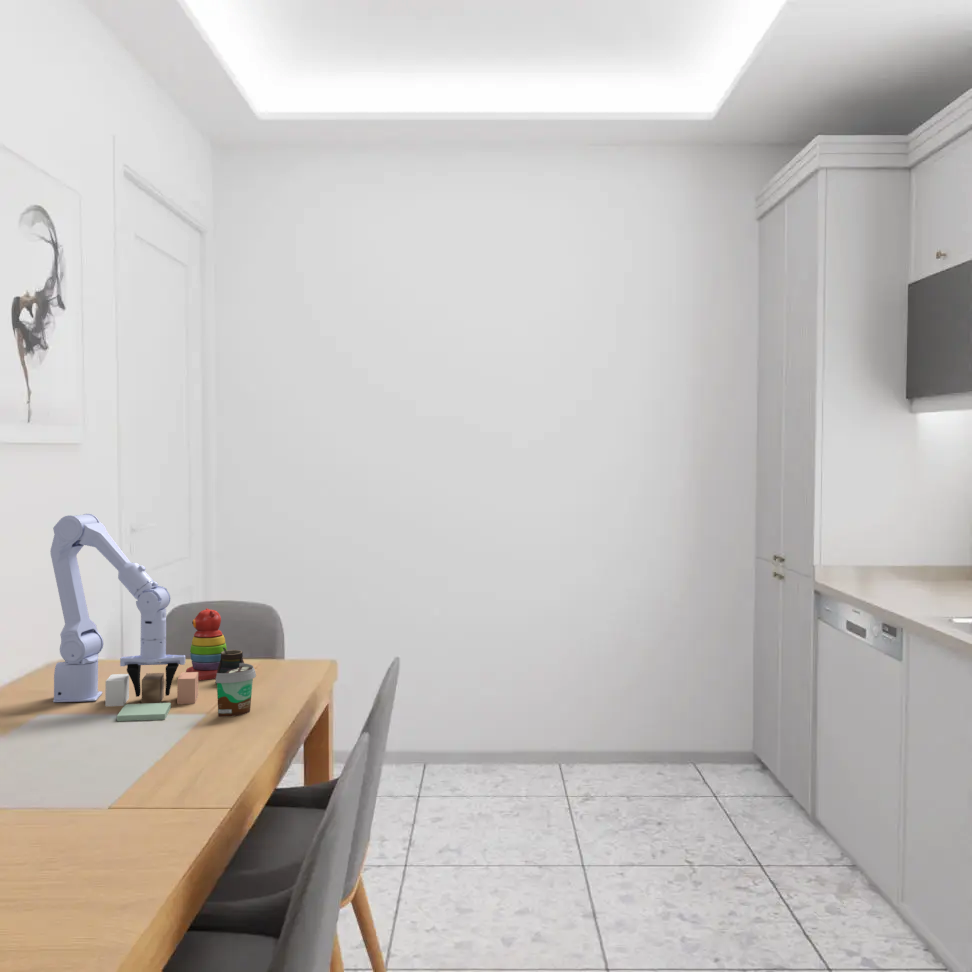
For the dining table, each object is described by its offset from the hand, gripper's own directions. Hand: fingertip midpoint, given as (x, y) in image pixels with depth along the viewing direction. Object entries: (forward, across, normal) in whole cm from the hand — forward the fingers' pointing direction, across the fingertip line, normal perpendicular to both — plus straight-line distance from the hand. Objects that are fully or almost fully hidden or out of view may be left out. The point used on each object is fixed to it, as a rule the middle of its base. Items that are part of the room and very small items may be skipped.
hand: (152, 695), depth 221 cm
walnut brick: (+2, 0, 0) cm, 2 cm away
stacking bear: (+2, +10, +26) cm, 28 cm away
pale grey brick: (+2, -8, 0) cm, 8 cm away
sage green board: (+1, 0, -12) cm, 12 cm away
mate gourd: (+2, +17, +17) cm, 24 cm away
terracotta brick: (+2, +8, 0) cm, 8 cm away
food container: (+2, +21, -13) cm, 25 cm away
